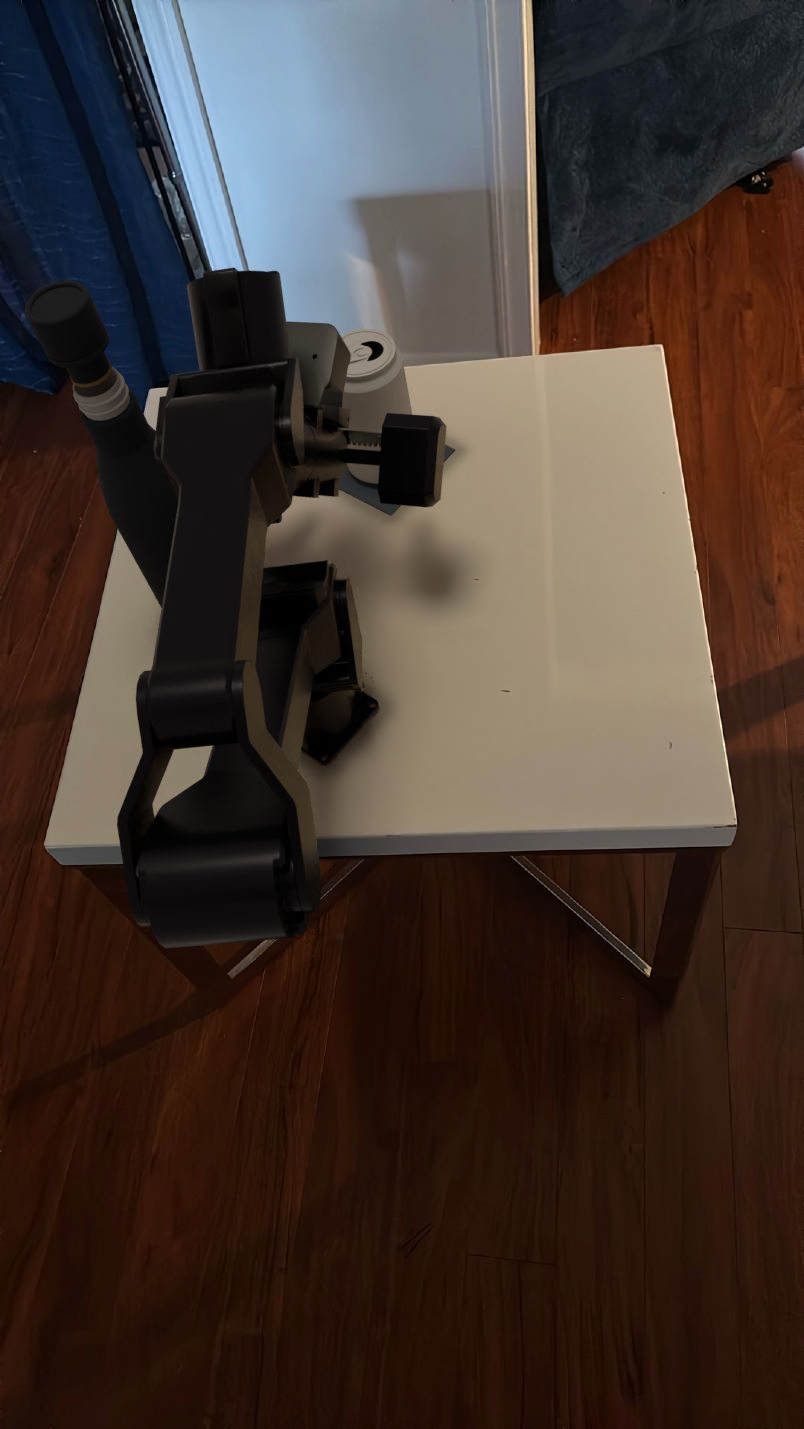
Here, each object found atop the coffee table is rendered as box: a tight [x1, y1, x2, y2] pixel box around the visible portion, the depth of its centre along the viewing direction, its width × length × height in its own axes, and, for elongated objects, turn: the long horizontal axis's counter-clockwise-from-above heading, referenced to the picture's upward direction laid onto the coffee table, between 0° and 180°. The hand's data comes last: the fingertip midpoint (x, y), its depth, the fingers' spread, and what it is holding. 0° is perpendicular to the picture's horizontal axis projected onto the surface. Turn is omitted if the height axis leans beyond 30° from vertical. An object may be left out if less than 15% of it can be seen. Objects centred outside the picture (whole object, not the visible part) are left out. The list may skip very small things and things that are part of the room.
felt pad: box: [339, 444, 456, 516], centre depth 92 cm, size 9×9×1 cm
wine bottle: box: [24, 280, 178, 609], centre depth 72 cm, size 6×6×30 cm
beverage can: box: [340, 328, 413, 484], centre depth 86 cm, size 6×6×12 cm
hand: (351, 455), depth 83 cm, fingers open, 9 cm apart
